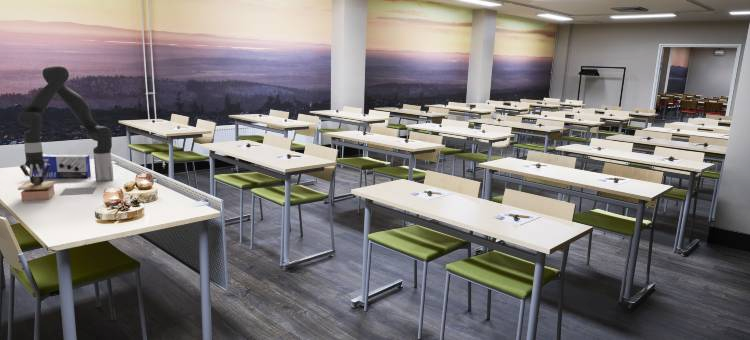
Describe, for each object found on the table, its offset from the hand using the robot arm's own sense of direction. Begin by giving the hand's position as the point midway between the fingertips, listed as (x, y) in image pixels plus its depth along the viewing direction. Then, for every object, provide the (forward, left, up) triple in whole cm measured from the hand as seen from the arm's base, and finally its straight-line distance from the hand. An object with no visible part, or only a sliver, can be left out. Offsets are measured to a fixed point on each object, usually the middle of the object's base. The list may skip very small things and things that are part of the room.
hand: (37, 183), depth 263 cm
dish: (0, 0, -8) cm, 8 cm away
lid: (0, 0, -2) cm, 2 cm away
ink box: (-1, -50, -9) cm, 51 cm away
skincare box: (+12, -67, -8) cm, 69 cm away
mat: (-17, -9, -8) cm, 21 cm away
